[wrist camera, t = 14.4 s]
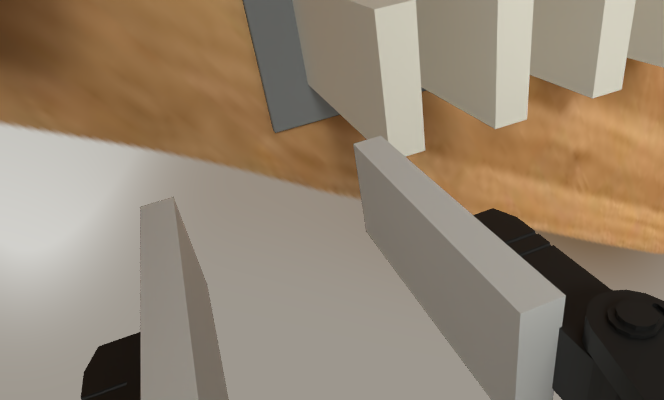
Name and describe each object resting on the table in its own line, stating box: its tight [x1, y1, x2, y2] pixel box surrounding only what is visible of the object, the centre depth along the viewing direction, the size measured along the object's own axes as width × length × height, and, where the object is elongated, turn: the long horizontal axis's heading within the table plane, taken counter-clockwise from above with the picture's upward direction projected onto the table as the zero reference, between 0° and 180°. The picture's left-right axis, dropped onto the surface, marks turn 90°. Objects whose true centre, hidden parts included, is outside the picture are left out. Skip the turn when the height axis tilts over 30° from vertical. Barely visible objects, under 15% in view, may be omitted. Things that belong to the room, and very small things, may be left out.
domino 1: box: [292, 0, 425, 157], centre depth 24 cm, size 2×6×12 cm, turn 9°
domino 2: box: [416, 0, 534, 129], centre depth 25 cm, size 2×6×12 cm, turn 10°
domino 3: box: [530, 0, 636, 98], centre depth 26 cm, size 2×6×12 cm, turn 9°
